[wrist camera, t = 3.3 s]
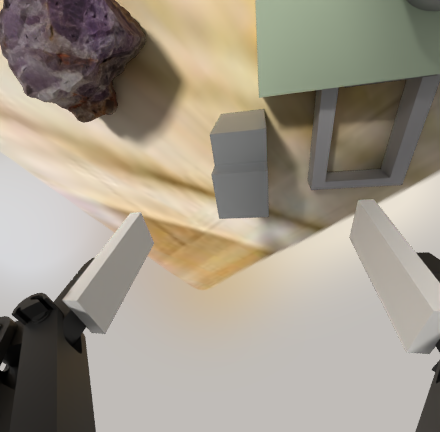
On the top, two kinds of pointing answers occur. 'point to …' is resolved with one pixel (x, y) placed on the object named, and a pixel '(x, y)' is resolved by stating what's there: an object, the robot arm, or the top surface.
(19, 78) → the rock
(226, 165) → the grey notched block
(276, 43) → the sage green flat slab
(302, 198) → the top surface
